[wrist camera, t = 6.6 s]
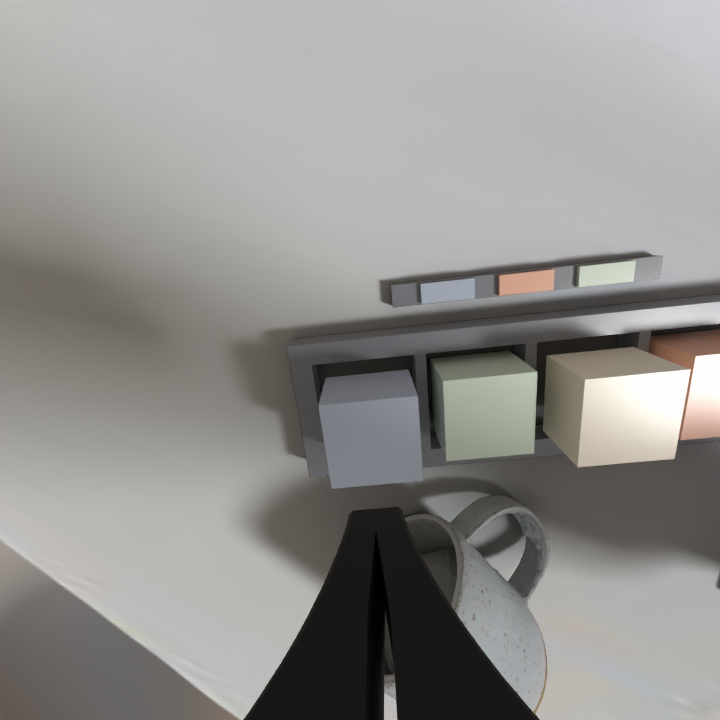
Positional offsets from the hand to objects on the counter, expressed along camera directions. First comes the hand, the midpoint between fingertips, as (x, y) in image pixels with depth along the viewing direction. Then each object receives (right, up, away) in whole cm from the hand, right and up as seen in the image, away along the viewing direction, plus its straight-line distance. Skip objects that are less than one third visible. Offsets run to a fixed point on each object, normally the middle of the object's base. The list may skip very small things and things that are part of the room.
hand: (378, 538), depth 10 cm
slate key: (0, +2, +7) cm, 8 cm away
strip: (+7, +9, +7) cm, 13 cm away
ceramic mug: (+5, -6, +12) cm, 15 cm away
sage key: (+5, +3, +8) cm, 10 cm away
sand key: (+10, +3, +7) cm, 13 cm away
